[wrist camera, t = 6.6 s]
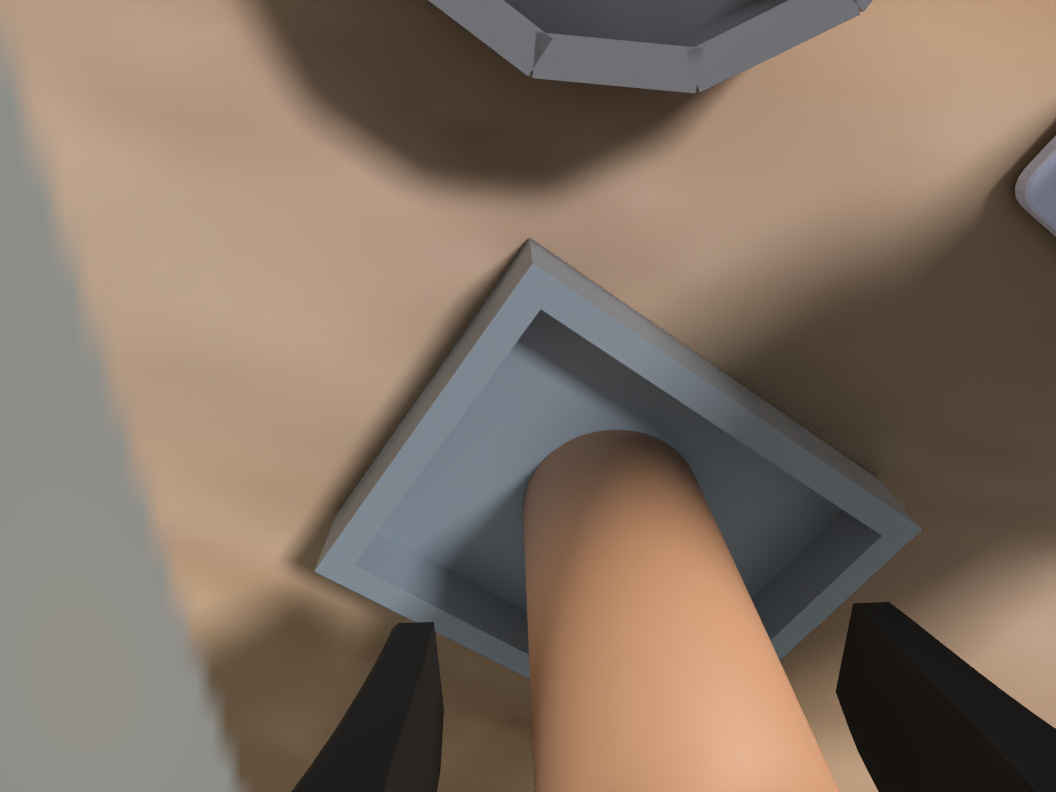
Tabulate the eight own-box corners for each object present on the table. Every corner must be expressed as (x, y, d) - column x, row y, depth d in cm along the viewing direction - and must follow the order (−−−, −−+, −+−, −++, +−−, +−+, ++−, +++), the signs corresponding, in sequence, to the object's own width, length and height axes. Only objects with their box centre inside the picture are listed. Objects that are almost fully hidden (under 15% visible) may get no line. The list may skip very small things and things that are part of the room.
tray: (878, 479, 17) (923, 529, 15) (662, 689, 20) (678, 753, 18) (529, 237, 15) (532, 263, 13) (334, 517, 17) (314, 571, 15)
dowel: (735, 485, 16) (920, 826, 9) (627, 604, 18) (713, 982, 10) (592, 396, 15) (672, 699, 8) (488, 529, 17) (477, 893, 9)
